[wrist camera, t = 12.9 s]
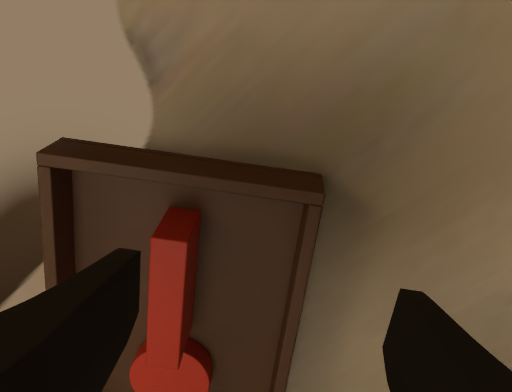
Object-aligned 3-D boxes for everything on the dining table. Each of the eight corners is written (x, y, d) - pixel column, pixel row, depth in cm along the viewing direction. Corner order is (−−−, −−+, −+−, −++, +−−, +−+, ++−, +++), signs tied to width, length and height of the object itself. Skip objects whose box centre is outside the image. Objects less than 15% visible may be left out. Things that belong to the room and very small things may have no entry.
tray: (270, 435, 28) (268, 472, 25) (74, 405, 28) (55, 440, 26) (321, 173, 21) (325, 193, 19) (62, 136, 21) (35, 152, 19)
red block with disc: (140, 201, 22) (116, 232, 19) (230, 214, 22) (221, 247, 19) (135, 388, 26) (115, 436, 23) (209, 399, 26) (199, 448, 23)
